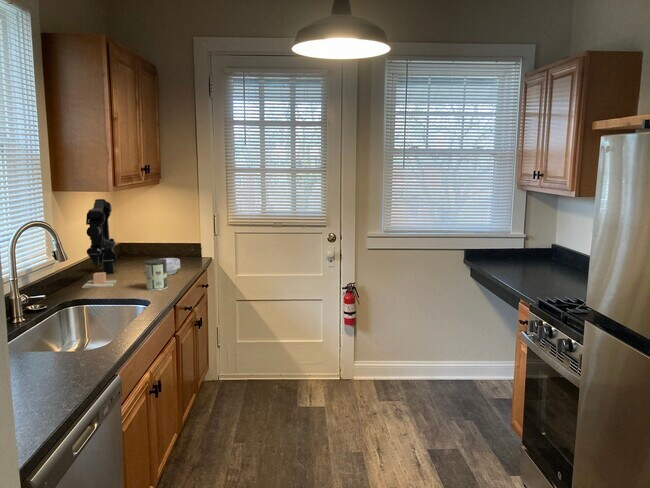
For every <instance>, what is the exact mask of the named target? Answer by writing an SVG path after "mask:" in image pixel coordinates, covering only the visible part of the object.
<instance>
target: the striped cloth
mask: <svg viewBox="0 0 650 488" xmlns="http://www.w3.org/2000/svg"><path fill="white" fill-rule="evenodd" d="M117 282H118V279H117V278H115V279H106V283H105V284H94V279H91V280H89V279H88V281H86V283H85V284H83V285H82V286H81V289H96V288H97V289H98V288H99V289H100V288H101V289H103V288H112V287H113V286H114V285H116V283H117Z"/></svg>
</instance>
